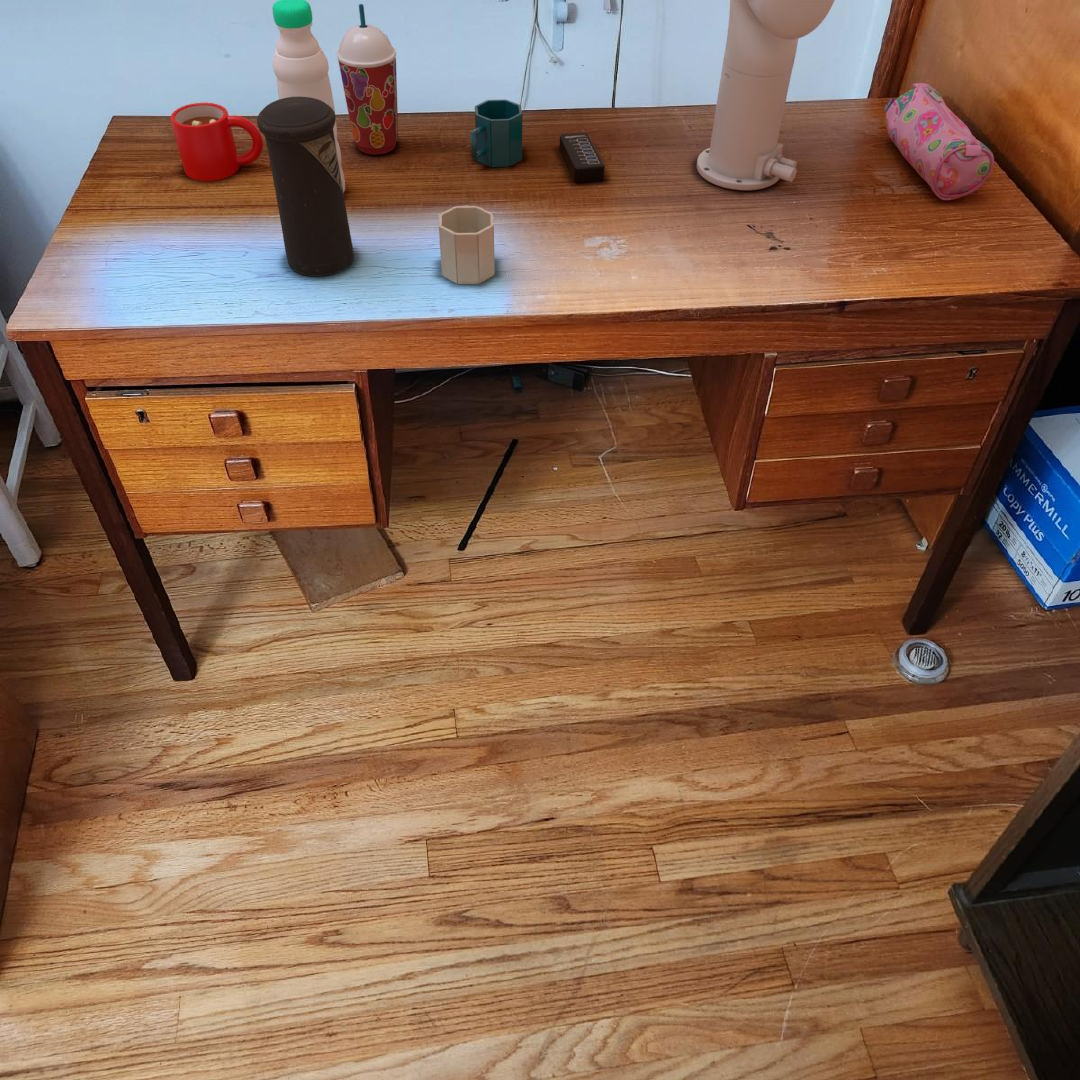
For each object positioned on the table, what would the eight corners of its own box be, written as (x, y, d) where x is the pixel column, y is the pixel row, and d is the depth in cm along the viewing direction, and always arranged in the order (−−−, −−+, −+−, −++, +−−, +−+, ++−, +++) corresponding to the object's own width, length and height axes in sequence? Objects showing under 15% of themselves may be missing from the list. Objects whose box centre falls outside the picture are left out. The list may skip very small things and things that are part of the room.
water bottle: (301, 179, 139) (268, -9, 120) (349, 181, 139) (324, -7, 120) (291, 204, 134) (255, 12, 116) (341, 206, 134) (313, 14, 116)
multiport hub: (575, 183, 140) (575, 168, 138) (558, 148, 147) (559, 134, 145) (604, 181, 140) (605, 166, 139) (586, 146, 148) (587, 131, 146)
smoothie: (408, 135, 149) (397, -5, 134) (398, 161, 143) (384, 18, 128) (356, 132, 149) (338, -8, 134) (343, 157, 144) (323, 14, 129)
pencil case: (874, 136, 152) (890, 78, 145) (929, 135, 152) (949, 77, 146) (921, 205, 137) (942, 144, 131) (982, 204, 138) (1006, 143, 131)
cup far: (496, 141, 148) (495, 95, 143) (530, 155, 145) (531, 108, 140) (455, 163, 143) (453, 116, 138) (490, 178, 140) (489, 131, 135)
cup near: (495, 283, 122) (494, 234, 117) (441, 284, 122) (438, 234, 117) (493, 244, 128) (492, 195, 123) (442, 244, 128) (439, 195, 123)
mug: (266, 178, 139) (255, 124, 133) (181, 182, 138) (166, 128, 132) (269, 152, 144) (259, 100, 138) (187, 156, 143) (173, 103, 137)
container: (360, 273, 123) (339, 118, 108) (289, 283, 121) (258, 127, 106) (349, 238, 129) (328, 86, 114) (281, 247, 127) (251, 94, 112)
